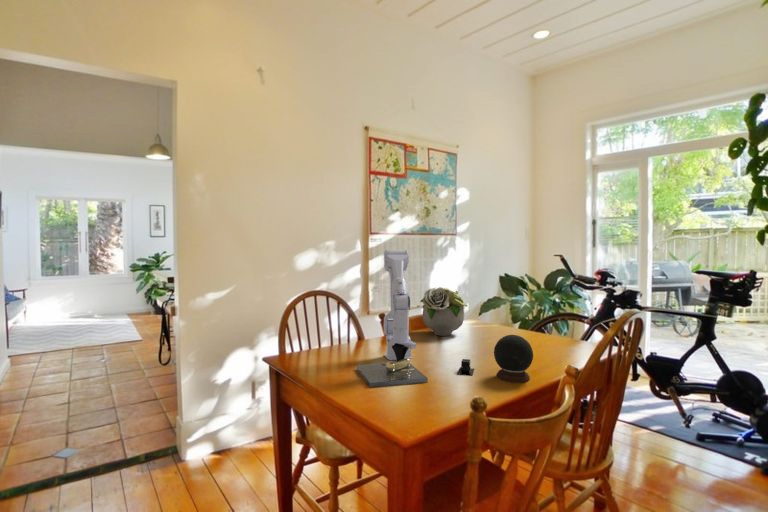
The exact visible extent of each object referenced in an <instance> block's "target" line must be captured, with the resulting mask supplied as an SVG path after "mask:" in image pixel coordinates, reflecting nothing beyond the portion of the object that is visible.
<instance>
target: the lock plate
mask: <svg viewBox="0 0 768 512" xmlns="http://www.w3.org/2000/svg"><path fill="white" fill-rule="evenodd" d="M386 363H387V362H381V363H372V364H359V365H356V370H357V372H358V373H359V374H360V376H361V377H362V379H363V380H364V382H365V383H366V384H367V385H368V387H369V388H379V387H391V386H400V385H401V386H402V385H412V384H423V383H428V382H429V381H428V377H427V376H426V375H424V374H423V373H422V372H421V371H420V370H419V369H417V368H416V366H414V365H412V363H410V366H409V367H405V368H401V369H397V370H395V371H392V372H390V371H386Z"/></svg>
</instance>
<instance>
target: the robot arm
mask: <svg viewBox="0 0 768 512" xmlns="http://www.w3.org/2000/svg"><path fill="white" fill-rule="evenodd" d="M409 255H410V254H409V251H408V249H384V252H383V262H384V263H383V268H384V270H385V271H386V272H388V274H389V278H390V282H389V283H390V284H389V285H390V288H389V289H390V294H389V295H390V297H389V298H390V311H389V312H388V313H386V314H385V316H384V317H383V333H384V335H385V342H386V353H384V354H383V356H384V357H385V358H386V359H387V360H388V361H398V360H402V359H405V358H408V359H410V360H411V359H412V353H411V352H412V351H411V350H413V349H417V343H416V342H414V341H412V340H411V337H410V335H409V331H410V330H409V319H410V317H409V315H410V309H411V296H410V293H409V290H408V282H407V280H405V279H404V272H406V271H407V269H408V264H409V262H410V259H409V258H410V256H409Z"/></svg>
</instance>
